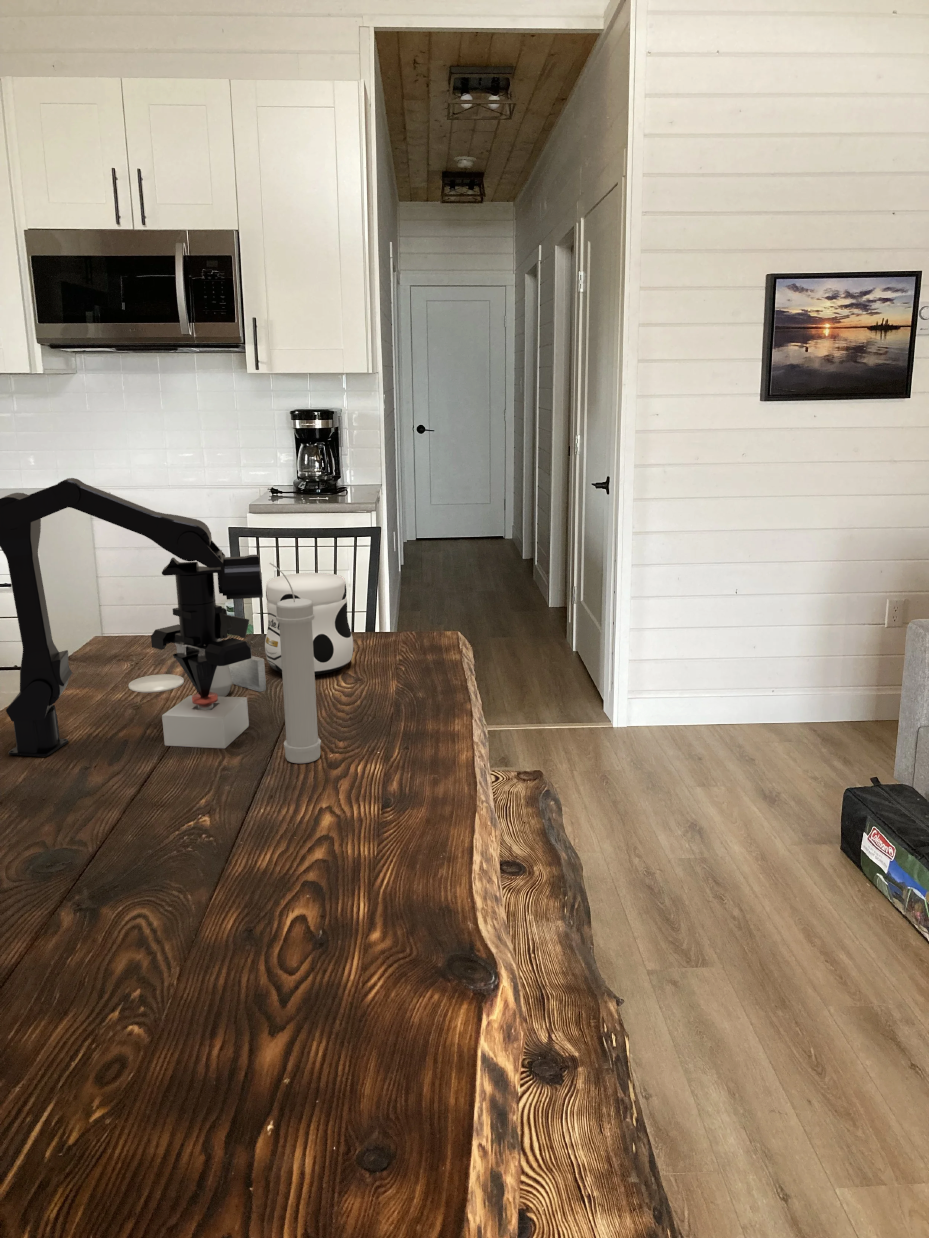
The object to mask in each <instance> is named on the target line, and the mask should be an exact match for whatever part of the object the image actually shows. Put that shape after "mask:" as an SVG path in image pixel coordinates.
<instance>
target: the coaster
mask: <svg viewBox="0 0 929 1238" xmlns="http://www.w3.org/2000/svg"><path fill="white" fill-rule="evenodd" d="M184 681H185V680H184V678H183V677H182V676H181V675H177V674H166V673H165V674H164V673H163V674H152V675H145V676H142V677H137V678H136V679H133V680H132V681H130V682H128V689H129V690H130V691H133V692H137V693H159V692H160V693H161V692H166V691H170V690H174V689H177V688H179V687H181V686H182V685H183V684H184Z"/></svg>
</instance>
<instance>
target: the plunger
mask: <svg viewBox="0 0 929 1238" xmlns="http://www.w3.org/2000/svg"><path fill="white" fill-rule="evenodd" d="M192 695H193V696H192V703H193V704H197V705H198V710H212V709H213V703H215V702H217V701H218V694H217V693H214V692H209V695H208V696H206V697H202V696H200V695H199V693H198V692H197V693H196V694H195V693H194V694H192Z"/></svg>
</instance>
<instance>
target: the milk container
mask: <svg viewBox="0 0 929 1238" xmlns="http://www.w3.org/2000/svg"><path fill="white" fill-rule="evenodd" d="M284 575H285V576H286V577H287V579H288V581H289V582H290V585H291V587H292V590H293V593H294V598H295V599H307V600H311V601H312V603H313V614H314V617H315V618H314V619H313V620H312V634H313V653H314V672H315V675H316V676H318V675H321V674H328V673H331V672H335V671H339V670H341V669H343V668H344V667H346V666H347V665H349V663H350V662H351V660H352V658H353V655H354V654H353V653H354V637H353V634H352V631H351V628H350V625H349V620H348V599H347V598H348V597H347V592H348V591H347V586H346V584H347V583H346V580H345V578H344V577H343V576H342V575H339V574H334V573H327V572H301V573H300V572H299V573H298V572H297V573H290V574H284ZM265 597H266V598H265V599H266V610H267V613H266V614H267V622H268V623H267V630H266V631H267V632H266V635H265V640H264V653H265V657H266V661H267V663H268V665H269V666H270V668H271V669H273V670H274V671H277V672H279V673H281V674H282V660H281V644H280V627H279V622H277V620H276V616H277V609H276V605H277V603H278V602H280V601H282V600H287V599H293V594H292V591H291V588H290V586H289V583H288V582H287V580H286V578H285V577H284V576H283V575H279V576H275V577H272V578H269V579H268V580H267V581H266V585H265Z"/></svg>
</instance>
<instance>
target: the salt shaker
mask: <svg viewBox="0 0 929 1238" xmlns="http://www.w3.org/2000/svg"><path fill="white" fill-rule="evenodd" d="M222 640H223V639H217V641H222ZM232 681H233V680H232V676H231V672H230V669H229V665H226V666H217V668H216V671H215V674H214V677H213V681H212V685H211V688H210V692H214V693H217V694H218V696H223V697H227V695H229V693H230V691H231V688H232V685H233V684H232Z"/></svg>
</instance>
